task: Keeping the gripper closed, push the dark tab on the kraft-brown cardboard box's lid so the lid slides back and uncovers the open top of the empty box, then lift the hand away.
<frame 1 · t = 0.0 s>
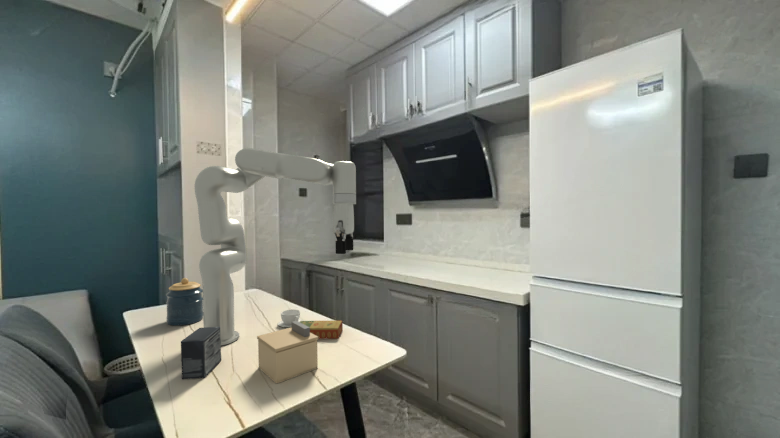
hand: (344, 251, 108), 31 cm above the table, tool pointing down, fingers open, 9 cm apart
teacup: (290, 324, 132), on the table
canister: (185, 321, 135), on the table
box lid: (287, 333, 93), point 10 cm above the table, slide at 0.0 cm
carton: (318, 335, 120), on the table
shipping box: (287, 368, 94), on the table
small box: (202, 370, 93), on the table
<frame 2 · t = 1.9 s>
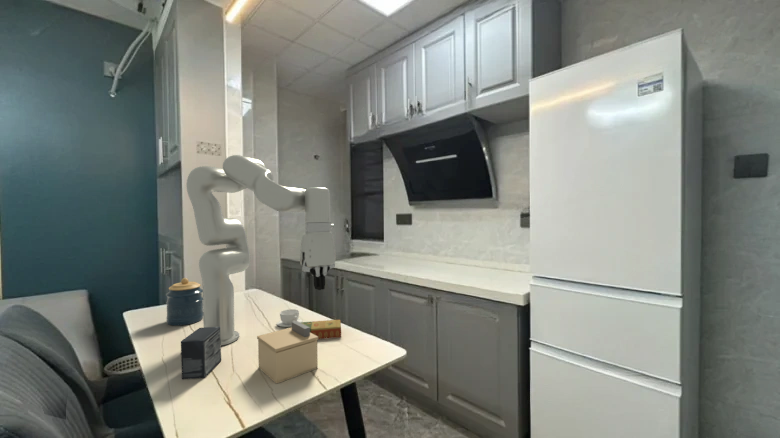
hand: (319, 288, 100), 21 cm above the table, tool pointing down, fingers closed
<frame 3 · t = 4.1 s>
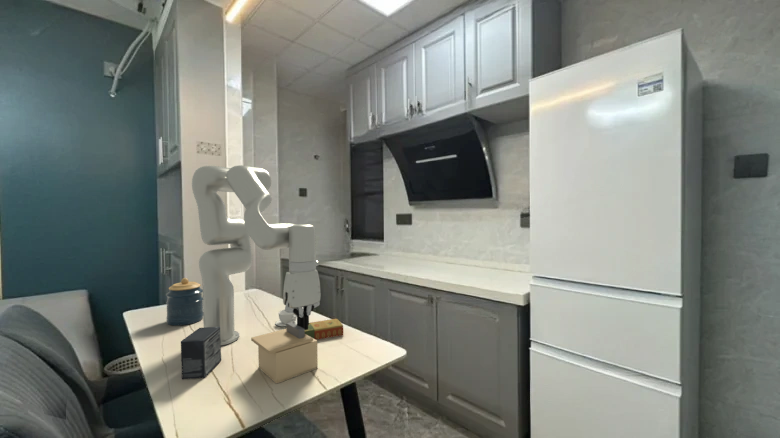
hand: (303, 328, 97), 10 cm above the table, tool pointing down, fingers closed
box lid: (281, 335, 92), point 10 cm above the table, slide at 1.7 cm, touching gripper
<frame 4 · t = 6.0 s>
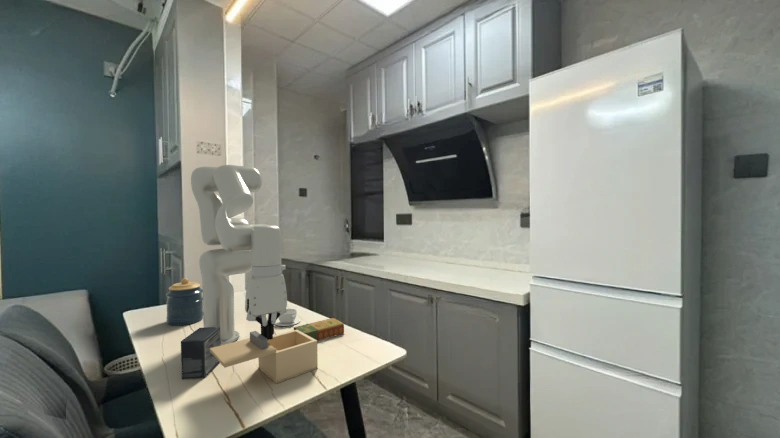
hand: (267, 338, 90), 10 cm above the table, tool pointing down, fingers closed
box lid: (242, 345, 85), point 10 cm above the table, slide at 12.2 cm, touching gripper
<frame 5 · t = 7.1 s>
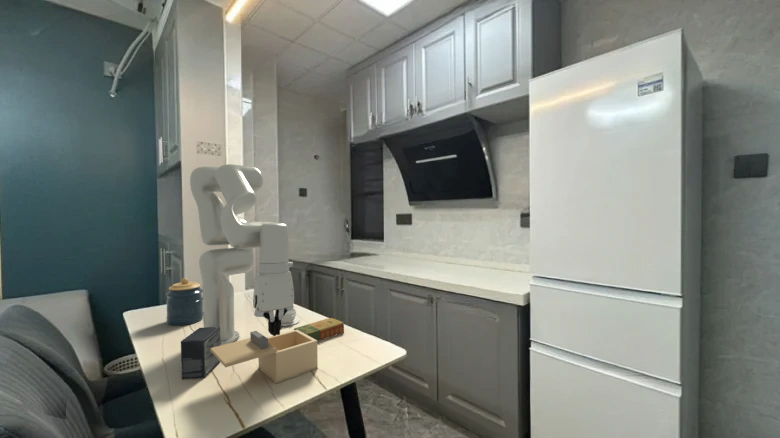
hand: (274, 333, 91), 11 cm above the table, tool pointing down, fingers closed
box lid: (243, 345, 85), point 10 cm above the table, slide at 12.1 cm
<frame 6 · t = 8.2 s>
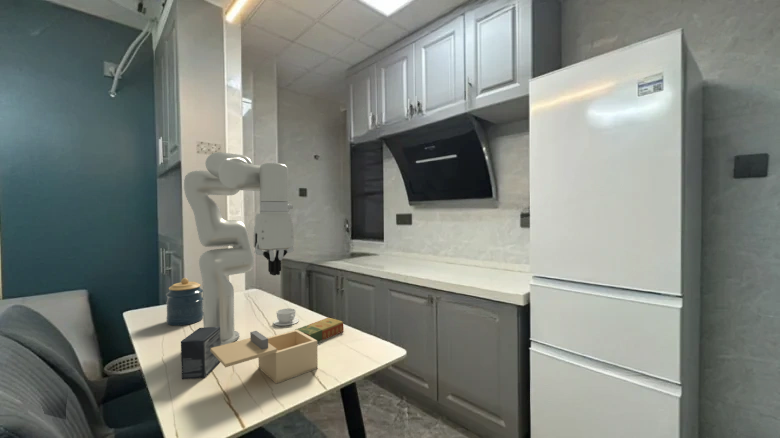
hand: (274, 274, 92), 27 cm above the table, tool pointing down, fingers closed
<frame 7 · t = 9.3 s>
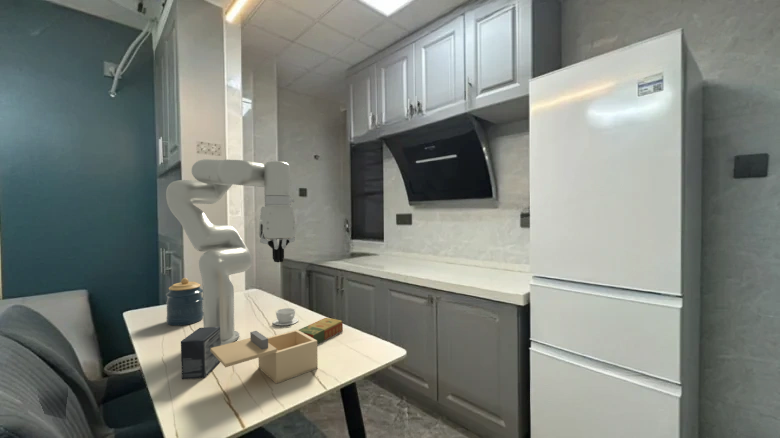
hand: (278, 261, 102), 29 cm above the table, tool pointing down, fingers closed
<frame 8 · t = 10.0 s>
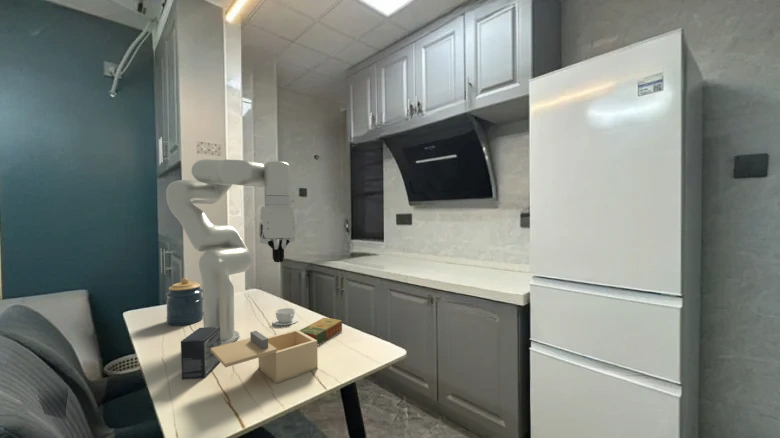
hand: (278, 261, 102), 29 cm above the table, tool pointing down, fingers closed
at the end: box lid slide at 12.1 cm; the gripper is holding nothing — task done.
